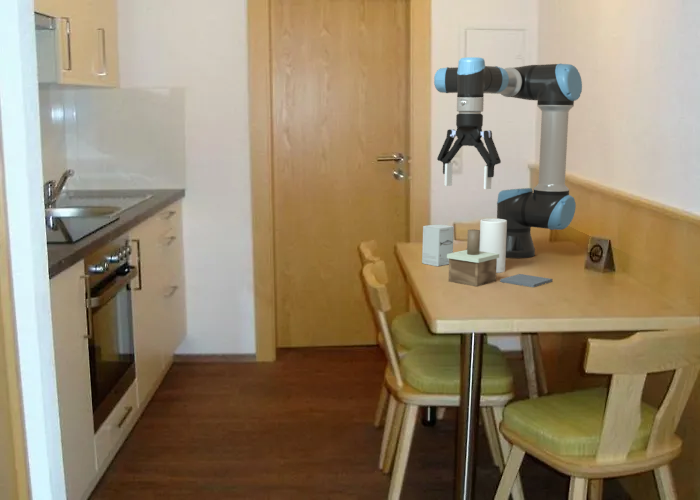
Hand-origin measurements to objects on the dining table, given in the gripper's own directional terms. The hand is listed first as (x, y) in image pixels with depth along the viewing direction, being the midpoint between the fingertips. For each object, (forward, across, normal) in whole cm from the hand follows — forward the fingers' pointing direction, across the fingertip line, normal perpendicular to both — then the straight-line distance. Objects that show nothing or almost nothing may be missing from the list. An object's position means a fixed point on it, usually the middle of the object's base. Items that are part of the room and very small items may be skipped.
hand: (467, 187), depth 241 cm
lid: (+21, +2, +2) cm, 21 cm away
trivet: (+28, +14, +12) cm, 33 cm away
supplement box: (+28, -22, +17) cm, 40 cm away
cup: (+28, -3, +20) cm, 35 cm away
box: (+28, +2, +2) cm, 28 cm away
